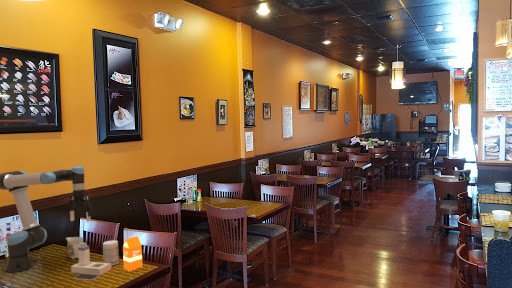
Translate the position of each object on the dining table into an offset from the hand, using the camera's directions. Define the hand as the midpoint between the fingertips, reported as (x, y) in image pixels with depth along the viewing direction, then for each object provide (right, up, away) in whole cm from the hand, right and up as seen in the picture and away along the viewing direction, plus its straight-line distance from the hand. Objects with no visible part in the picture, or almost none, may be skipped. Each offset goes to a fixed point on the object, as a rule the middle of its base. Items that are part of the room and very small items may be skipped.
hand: (80, 221), depth 258 cm
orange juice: (+40, -28, -13) cm, 50 cm away
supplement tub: (+22, -28, -3) cm, 36 cm away
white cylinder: (+9, -28, -13) cm, 32 cm away
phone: (+15, -30, -26) cm, 42 cm away
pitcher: (-8, -29, +14) cm, 33 cm away
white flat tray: (+14, -29, -15) cm, 35 cm away
